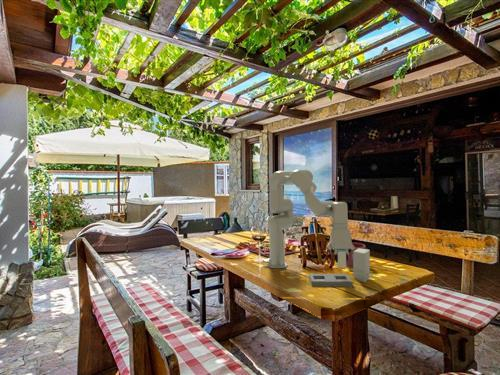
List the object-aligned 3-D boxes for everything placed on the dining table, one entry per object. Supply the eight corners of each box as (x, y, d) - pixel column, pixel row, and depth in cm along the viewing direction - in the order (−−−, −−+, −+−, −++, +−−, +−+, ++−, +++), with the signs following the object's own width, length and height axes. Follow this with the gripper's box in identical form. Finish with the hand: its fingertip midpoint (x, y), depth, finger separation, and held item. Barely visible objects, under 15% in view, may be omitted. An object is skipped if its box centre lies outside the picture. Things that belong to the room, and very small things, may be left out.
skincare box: (358, 276, 164) (358, 247, 163) (370, 278, 160) (370, 249, 159) (352, 280, 157) (352, 250, 157) (365, 282, 153) (365, 252, 153)
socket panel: (311, 287, 148) (311, 280, 148) (309, 279, 160) (309, 273, 160) (352, 287, 146) (352, 281, 146) (347, 279, 158) (347, 273, 158)
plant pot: (348, 269, 176) (348, 248, 176) (337, 263, 190) (337, 243, 189) (370, 267, 179) (370, 246, 178) (357, 261, 192) (357, 241, 192)
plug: (338, 267, 150) (337, 249, 150) (336, 265, 154) (336, 247, 154) (346, 267, 150) (345, 249, 150) (344, 265, 154) (344, 247, 154)
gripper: (324, 227, 149) (325, 263, 149) (358, 226, 147) (360, 263, 148) (322, 225, 156) (323, 260, 157) (355, 224, 155) (356, 259, 155)
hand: (341, 261), depth 152 cm, fingers closed on plug, 4 cm apart
